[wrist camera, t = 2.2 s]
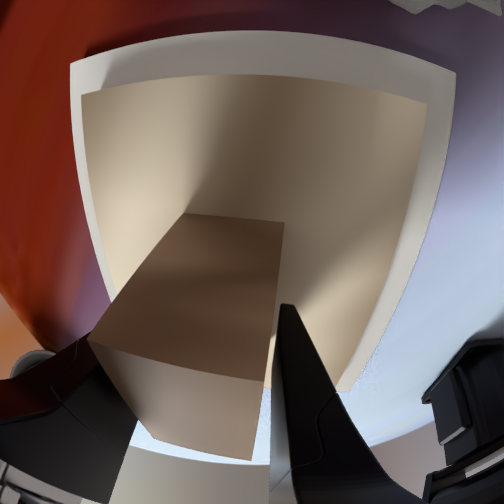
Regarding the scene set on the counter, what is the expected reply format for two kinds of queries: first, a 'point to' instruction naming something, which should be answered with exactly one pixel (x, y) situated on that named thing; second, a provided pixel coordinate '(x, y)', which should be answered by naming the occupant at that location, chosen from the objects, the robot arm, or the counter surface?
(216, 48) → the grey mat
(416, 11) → the grey jagged ring sculpture
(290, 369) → the robot arm
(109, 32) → the counter surface
